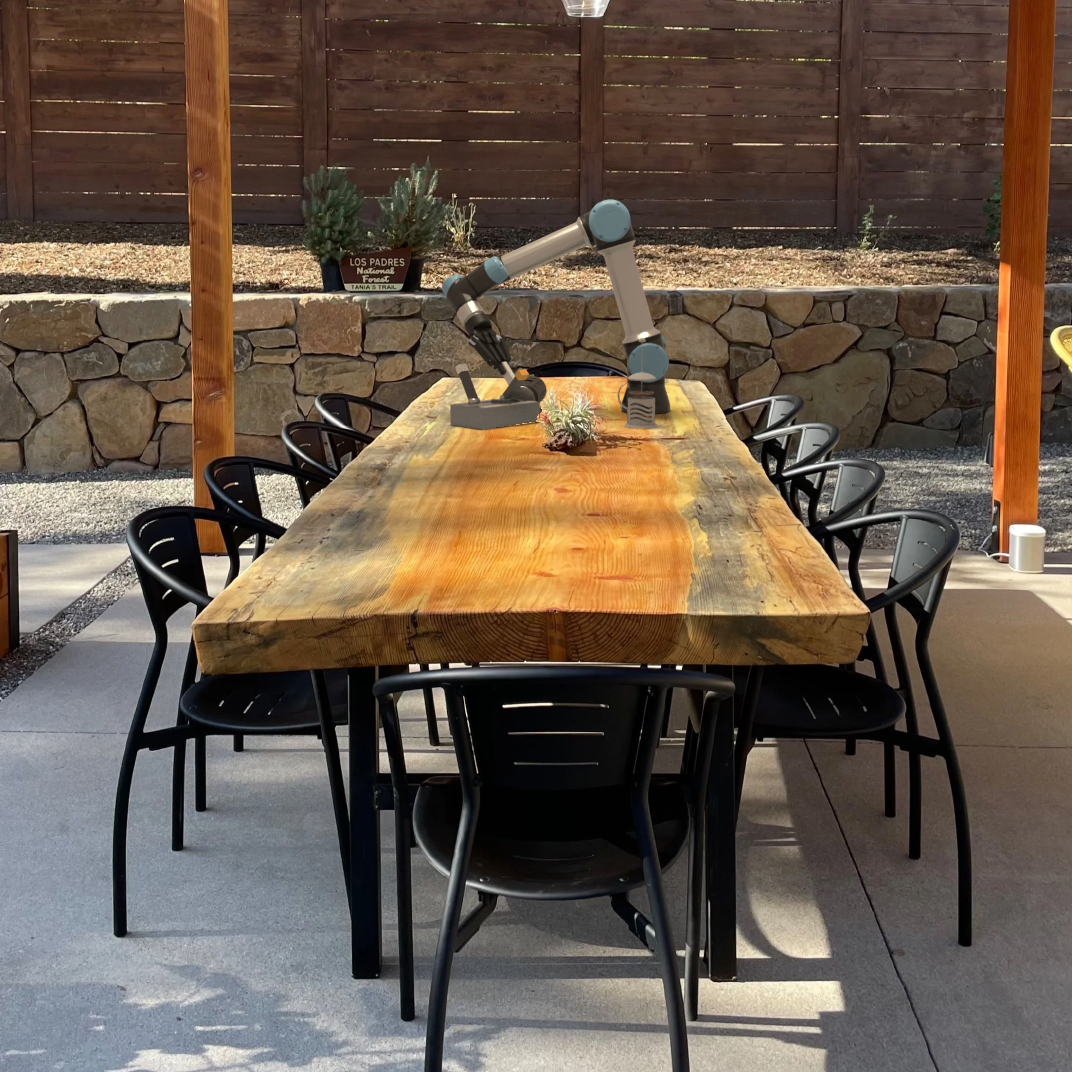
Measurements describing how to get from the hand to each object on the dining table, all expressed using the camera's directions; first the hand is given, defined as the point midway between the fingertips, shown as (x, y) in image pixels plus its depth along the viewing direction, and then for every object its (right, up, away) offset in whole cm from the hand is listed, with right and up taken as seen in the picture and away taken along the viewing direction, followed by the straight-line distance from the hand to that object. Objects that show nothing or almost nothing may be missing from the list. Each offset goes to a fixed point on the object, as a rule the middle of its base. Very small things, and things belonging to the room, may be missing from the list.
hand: (512, 382), depth 391 cm
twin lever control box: (-5, -12, +2) cm, 13 cm away
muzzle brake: (+4, -7, +28) cm, 29 cm away
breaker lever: (-2, -4, +4) cm, 6 cm away
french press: (+36, -13, -4) cm, 38 cm away
